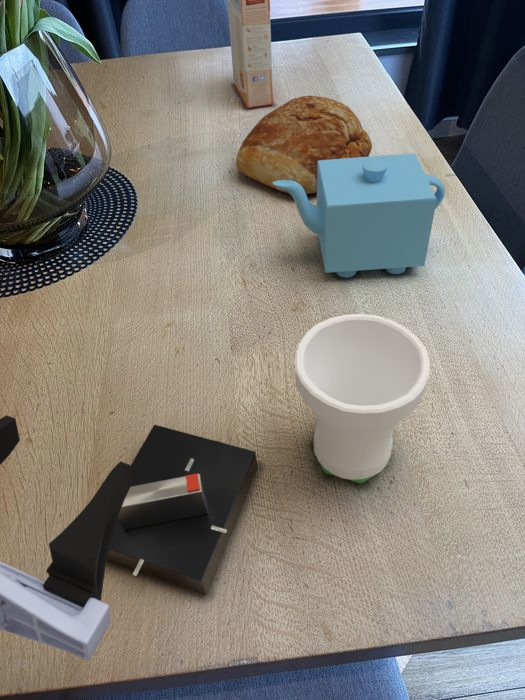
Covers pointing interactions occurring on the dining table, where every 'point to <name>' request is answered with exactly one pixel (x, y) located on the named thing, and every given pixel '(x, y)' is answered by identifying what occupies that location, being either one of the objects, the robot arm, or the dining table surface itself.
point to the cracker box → (251, 50)
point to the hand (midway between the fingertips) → (68, 450)
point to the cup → (359, 389)
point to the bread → (301, 141)
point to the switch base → (193, 532)
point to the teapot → (370, 212)
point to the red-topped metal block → (163, 502)
